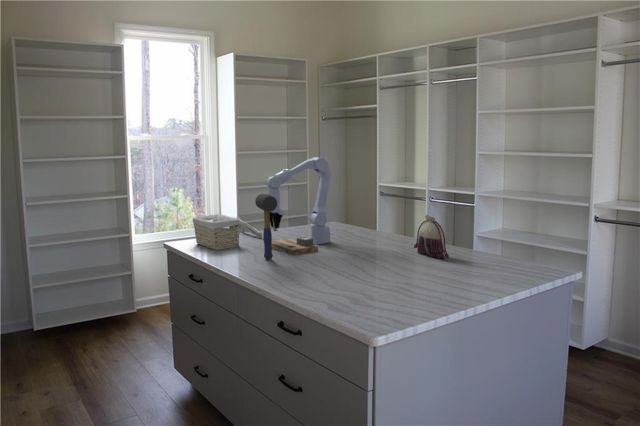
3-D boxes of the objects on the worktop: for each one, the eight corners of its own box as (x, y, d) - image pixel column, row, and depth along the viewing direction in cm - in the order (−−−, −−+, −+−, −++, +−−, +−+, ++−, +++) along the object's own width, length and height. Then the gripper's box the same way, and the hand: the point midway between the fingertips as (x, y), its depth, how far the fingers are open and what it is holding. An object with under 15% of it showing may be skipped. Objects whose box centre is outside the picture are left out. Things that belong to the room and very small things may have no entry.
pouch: (405, 252, 259) (405, 212, 256) (418, 250, 264) (418, 210, 261) (444, 262, 238) (445, 218, 236) (458, 259, 243) (458, 216, 240)
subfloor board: (290, 242, 289) (290, 238, 288) (319, 250, 268) (318, 245, 267) (264, 246, 280) (264, 242, 280) (292, 255, 259) (292, 250, 259)
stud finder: (305, 242, 275) (305, 236, 275) (313, 244, 269) (313, 238, 269) (296, 244, 272) (296, 237, 272) (304, 246, 267) (304, 239, 266)
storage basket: (242, 246, 283) (241, 218, 280) (213, 251, 273) (211, 222, 271) (220, 240, 301) (219, 213, 299) (192, 244, 292) (191, 216, 290)
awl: (276, 230, 280) (275, 216, 279) (279, 230, 278) (278, 217, 277) (271, 230, 278) (271, 217, 277) (274, 231, 276) (273, 217, 275)
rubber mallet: (280, 261, 248) (278, 194, 243) (264, 263, 245) (262, 196, 240) (271, 256, 259) (269, 192, 255) (256, 257, 256) (253, 193, 252)
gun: (238, 229, 327) (239, 216, 325) (262, 245, 303) (263, 232, 301) (235, 229, 326) (236, 216, 324) (259, 246, 302) (260, 232, 300)
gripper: (260, 200, 279) (261, 226, 281) (274, 202, 268) (275, 230, 270) (272, 198, 283) (273, 225, 285) (287, 201, 272) (288, 228, 274)
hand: (275, 227), depth 278 cm, fingers closed on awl, 3 cm apart
